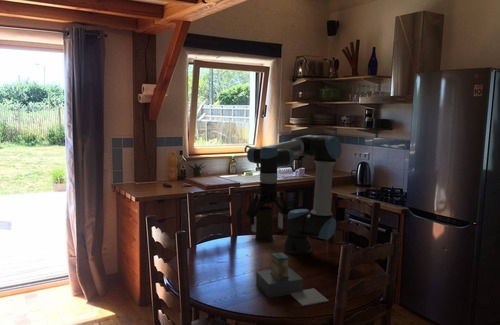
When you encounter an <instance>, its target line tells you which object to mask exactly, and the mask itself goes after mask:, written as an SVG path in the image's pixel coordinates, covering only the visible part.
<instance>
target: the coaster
mask: <svg viewBox="0 0 500 325" xmlns="http://www.w3.org/2000/svg"><path fill="white" fill-rule="evenodd" d="M290 296H291V297H292V298H293V299H295V300H296V301H297V303H299V304H300V305H301V306H302V307H304V306H311V305H317V304H321V303H322V302H323V303H327V302H328V303H329V299H328V298H326V296H324V295H323V294H321V293H320V291H318V290H317V289H315V288H314V287H313V288H308V289H303V291H301V292H295V293H290ZM323 303H322V304H323Z"/></svg>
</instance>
